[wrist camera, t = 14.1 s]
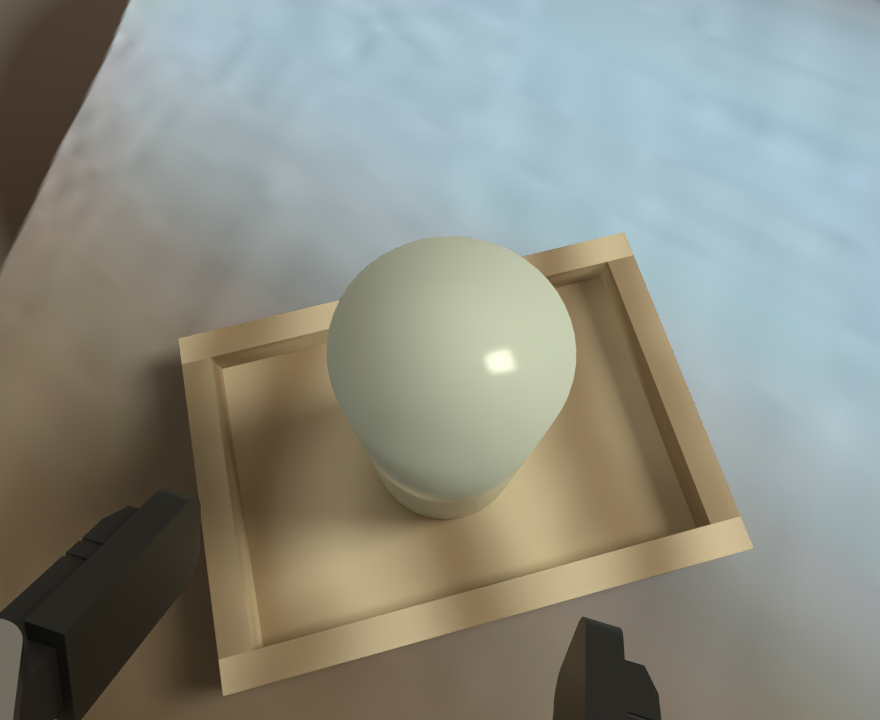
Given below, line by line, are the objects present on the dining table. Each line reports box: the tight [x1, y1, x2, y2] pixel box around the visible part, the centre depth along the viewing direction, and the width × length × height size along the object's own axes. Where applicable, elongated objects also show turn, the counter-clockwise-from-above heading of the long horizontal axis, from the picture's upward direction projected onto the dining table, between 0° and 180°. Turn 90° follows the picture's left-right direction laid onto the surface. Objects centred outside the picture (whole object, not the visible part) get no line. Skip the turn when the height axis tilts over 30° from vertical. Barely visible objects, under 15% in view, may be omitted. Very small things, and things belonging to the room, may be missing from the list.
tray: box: [179, 233, 753, 696], centre depth 26 cm, size 20×14×2 cm
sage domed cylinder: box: [326, 236, 576, 520], centre depth 21 cm, size 6×6×12 cm
